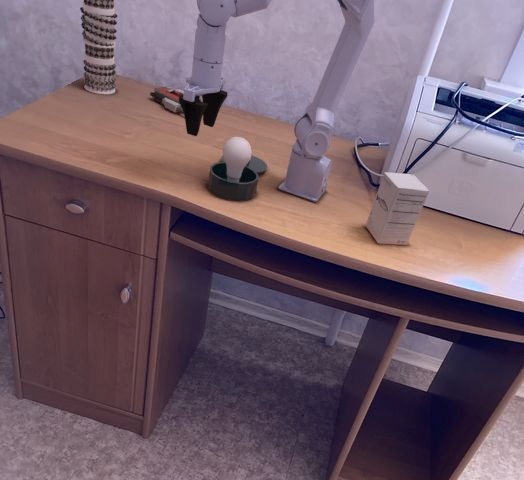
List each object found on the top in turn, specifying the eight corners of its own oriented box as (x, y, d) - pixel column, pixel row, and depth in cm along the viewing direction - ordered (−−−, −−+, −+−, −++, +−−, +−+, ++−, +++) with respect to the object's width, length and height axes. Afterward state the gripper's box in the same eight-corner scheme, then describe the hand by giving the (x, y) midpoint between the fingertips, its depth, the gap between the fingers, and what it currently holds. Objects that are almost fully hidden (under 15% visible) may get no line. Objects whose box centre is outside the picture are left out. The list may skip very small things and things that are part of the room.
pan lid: (273, 167, 130) (276, 148, 127) (256, 181, 122) (259, 161, 119) (232, 153, 132) (235, 134, 129) (212, 166, 124) (215, 146, 121)
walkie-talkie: (143, 99, 150) (195, 124, 142) (144, 82, 147) (197, 107, 140) (166, 95, 156) (216, 119, 148) (167, 79, 153) (218, 103, 146)
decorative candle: (110, 97, 146) (110, -9, 130) (77, 89, 145) (73, -18, 129) (121, 88, 153) (122, -13, 137) (89, 81, 152) (87, -22, 136)
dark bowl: (262, 189, 119) (265, 172, 116) (244, 206, 111) (247, 188, 109) (220, 174, 121) (222, 157, 118) (199, 190, 113) (201, 172, 110)
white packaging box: (364, 226, 115) (383, 170, 106) (394, 228, 117) (415, 173, 109) (376, 244, 109) (397, 187, 101) (407, 245, 112) (431, 190, 103)
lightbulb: (214, 189, 113) (221, 138, 106) (222, 179, 118) (229, 129, 111) (241, 196, 113) (249, 146, 106) (248, 186, 118) (257, 137, 111)
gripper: (206, 48, 108) (199, 116, 117) (171, 58, 97) (166, 132, 106) (237, 58, 107) (227, 126, 116) (205, 69, 96) (197, 143, 105)
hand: (200, 129), depth 111 cm, fingers open, 7 cm apart
